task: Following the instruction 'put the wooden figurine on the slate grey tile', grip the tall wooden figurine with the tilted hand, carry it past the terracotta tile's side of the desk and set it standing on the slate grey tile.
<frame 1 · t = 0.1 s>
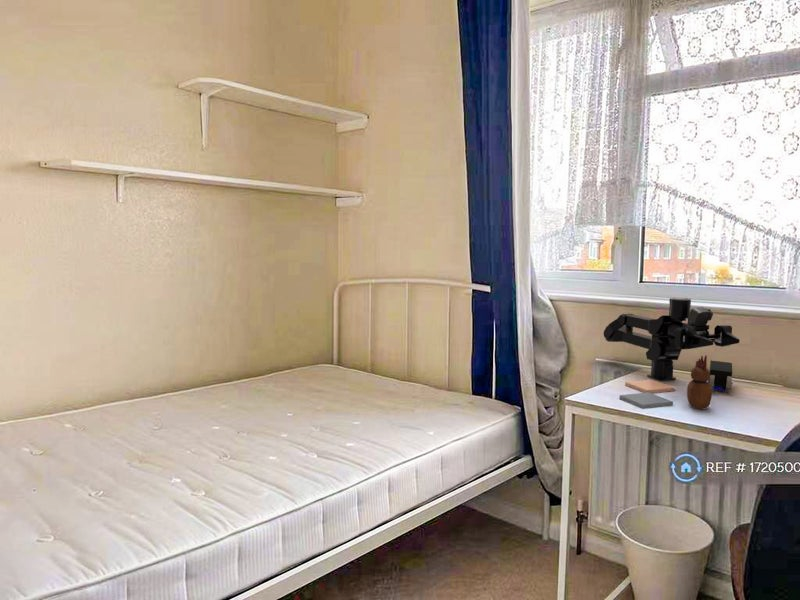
hand: (726, 342, 172), 17 cm above the table, tool horizontal, fingers open, 9 cm apart
wooden figurine: (698, 408, 165), on the table
terracotta tile: (649, 388, 186), on the table
slate tile: (645, 401, 171), on the table
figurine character: (719, 389, 185), on the table
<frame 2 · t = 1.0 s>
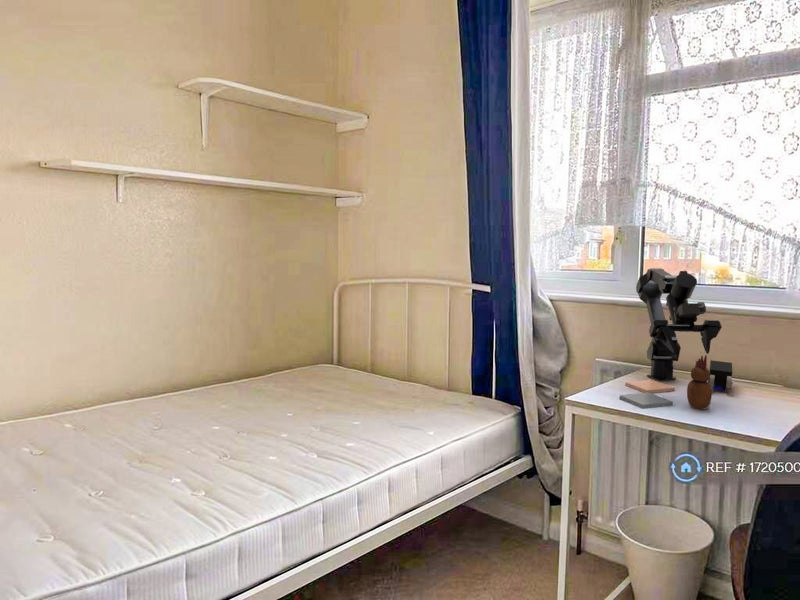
hand: (691, 352, 171), 14 cm above the table, tool tilted 45°, fingers open, 9 cm apart
nothing on the table moved.
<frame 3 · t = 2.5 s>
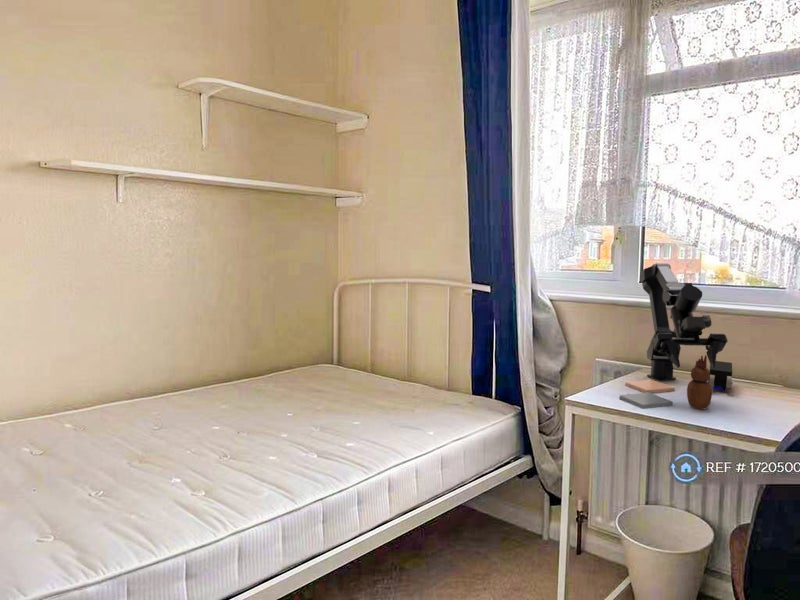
hand: (696, 367, 167), 11 cm above the table, tool tilted 45°, fingers open, 9 cm apart
nothing on the table moved.
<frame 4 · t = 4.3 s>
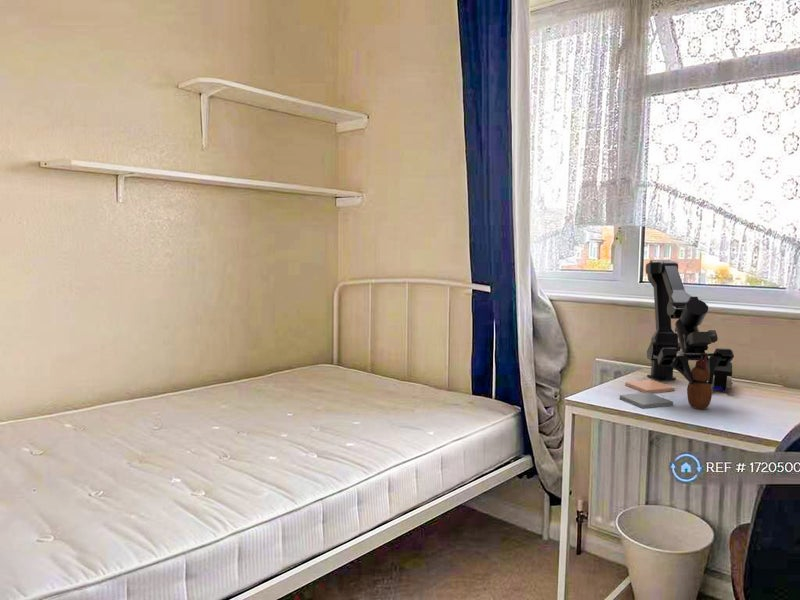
hand: (701, 383, 163), 7 cm above the table, tool tilted 45°, fingers closed on wooden figurine, 4 cm apart
wooden figurine: (698, 408, 165), on the table, touching gripper
everything else where it was.
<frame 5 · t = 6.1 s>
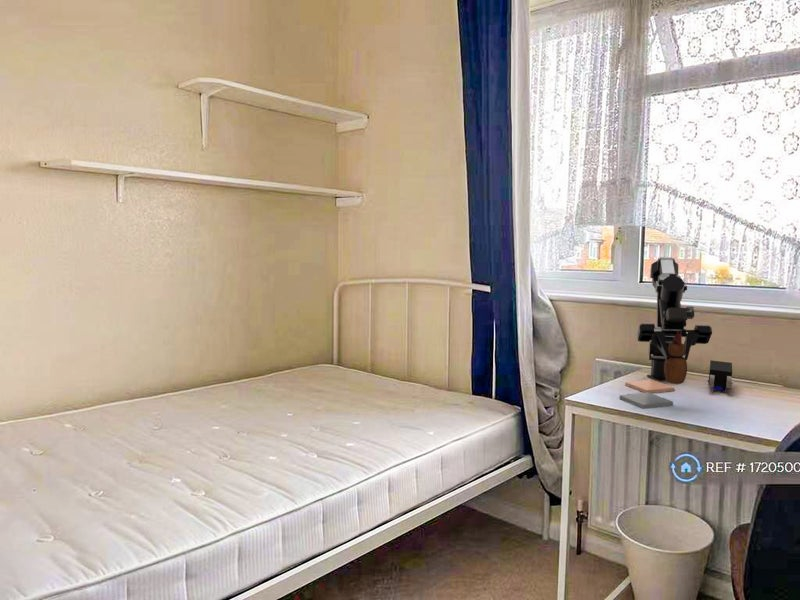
hand: (677, 358, 166), 13 cm above the table, tool tilted 45°, fingers closed on wooden figurine, 4 cm apart
wooden figurine: (674, 383, 168), point 6 cm above the table, touching gripper
everything else where it was.
when the fingers open (9 cm above the table, at t = 8.0 s): wooden figurine drops 1 cm, resting on slate tile.
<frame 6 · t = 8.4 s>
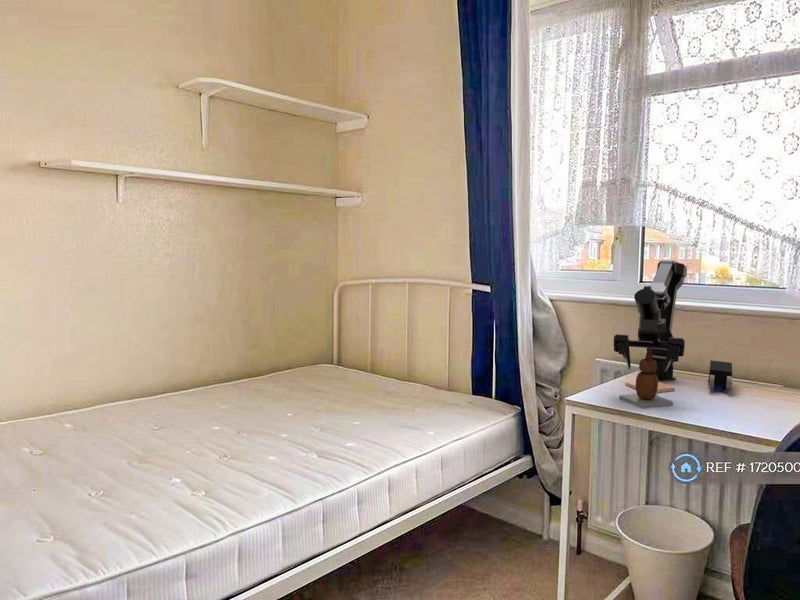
hand: (647, 369, 169), 10 cm above the table, tool tilted 45°, fingers open, 9 cm apart
wooden figurine: (645, 398, 171), point 1 cm above the table, touching slate tile
everything else where it was.
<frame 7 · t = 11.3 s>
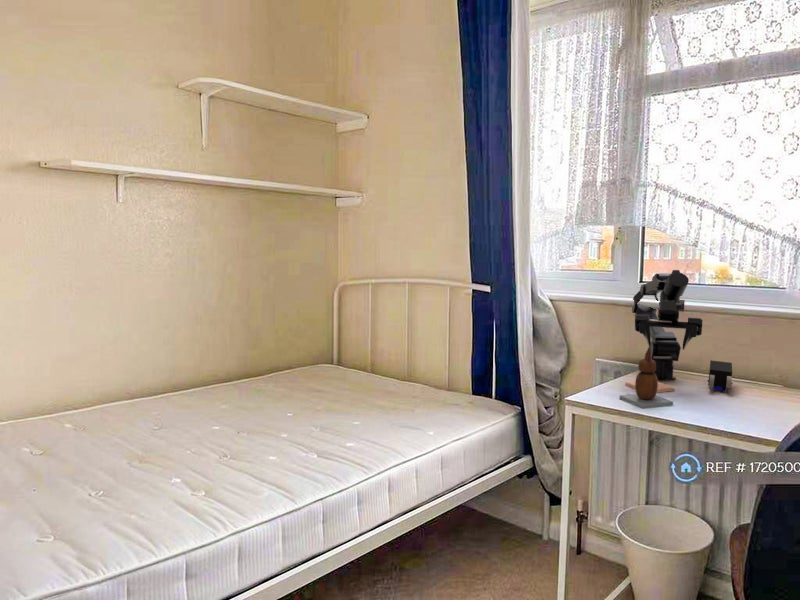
hand: (666, 347, 180), 14 cm above the table, tool tilted 45°, fingers open, 9 cm apart
nothing on the table moved.
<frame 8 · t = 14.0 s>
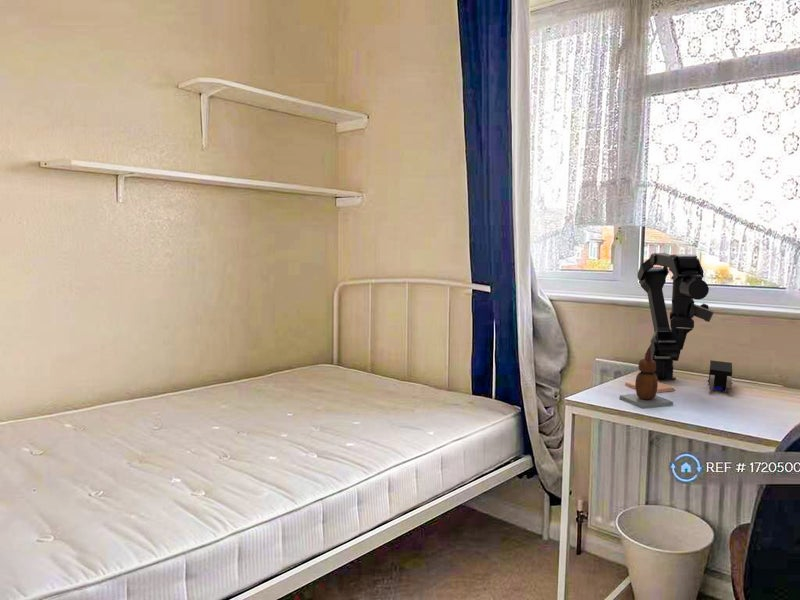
hand: (679, 346, 184), 13 cm above the table, tool pointing down, fingers open, 9 cm apart
nothing on the table moved.
at the end: wooden figurine 0.1 cm off-centre on the slate tile, point 0.8 cm above the slate tile's base; wooden figurine tilted 0°; the gripper is holding nothing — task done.
